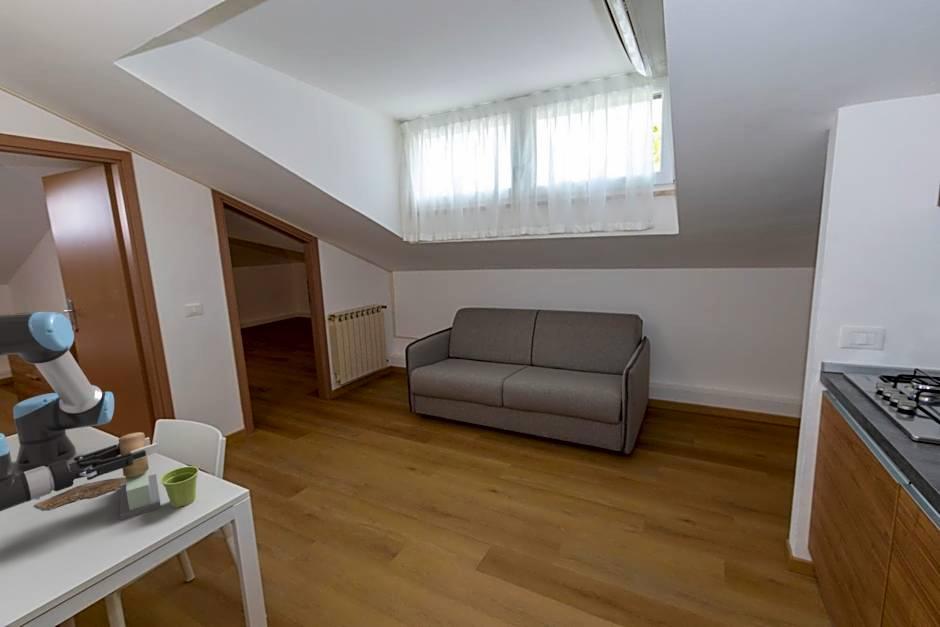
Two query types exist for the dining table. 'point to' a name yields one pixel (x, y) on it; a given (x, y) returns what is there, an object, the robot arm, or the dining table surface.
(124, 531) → the dining table surface
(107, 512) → the dining table surface
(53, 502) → the wooden fragment
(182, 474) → the plant pot
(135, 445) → the tan wooden cylinder
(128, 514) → the block
